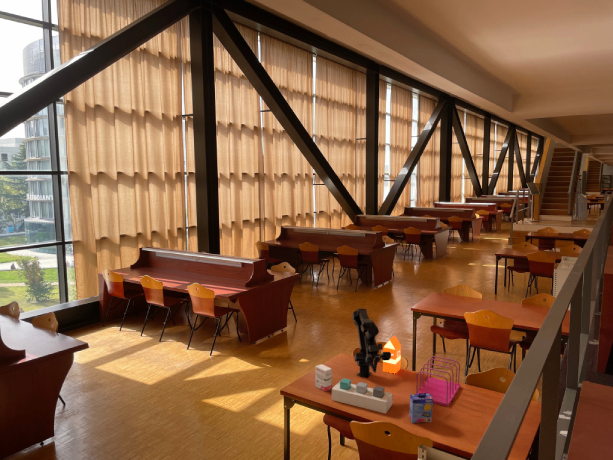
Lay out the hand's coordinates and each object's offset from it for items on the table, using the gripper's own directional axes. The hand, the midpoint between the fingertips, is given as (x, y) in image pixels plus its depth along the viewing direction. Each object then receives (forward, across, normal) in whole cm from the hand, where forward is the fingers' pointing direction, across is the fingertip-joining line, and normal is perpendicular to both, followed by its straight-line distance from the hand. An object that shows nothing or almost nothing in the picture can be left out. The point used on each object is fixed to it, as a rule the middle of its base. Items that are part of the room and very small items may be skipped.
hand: (374, 372), depth 248 cm
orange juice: (-12, +17, +32) cm, 38 cm away
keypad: (+13, -8, +6) cm, 16 cm away
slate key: (+9, -8, +2) cm, 12 cm away
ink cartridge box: (+26, +17, -7) cm, 32 cm away
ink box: (+1, -25, +18) cm, 31 cm away
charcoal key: (+12, 0, -1) cm, 12 cm away
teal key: (+6, -15, +6) cm, 17 cm away
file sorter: (+8, +35, +11) cm, 37 cm away
